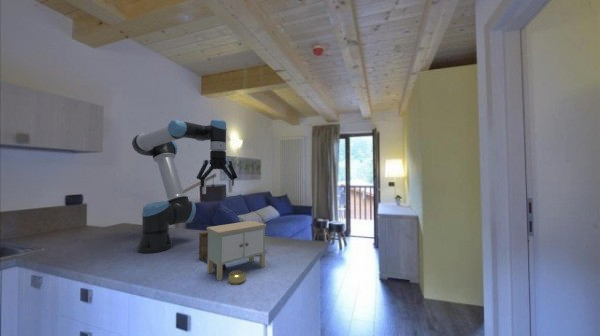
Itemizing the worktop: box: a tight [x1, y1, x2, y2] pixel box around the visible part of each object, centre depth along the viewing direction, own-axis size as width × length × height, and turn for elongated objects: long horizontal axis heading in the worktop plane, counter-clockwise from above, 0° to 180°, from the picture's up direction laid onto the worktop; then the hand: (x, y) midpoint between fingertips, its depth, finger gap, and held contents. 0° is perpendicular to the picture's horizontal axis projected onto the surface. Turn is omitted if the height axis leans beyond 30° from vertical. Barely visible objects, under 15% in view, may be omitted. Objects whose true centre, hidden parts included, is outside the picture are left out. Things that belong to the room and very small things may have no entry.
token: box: [227, 270, 247, 286], centre depth 87 cm, size 6×6×2 cm
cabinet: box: [206, 220, 267, 282], centre depth 98 cm, size 12×21×18 cm, turn 133°
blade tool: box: [198, 230, 227, 272], centre depth 103 cm, size 20×4×12 cm, turn 43°
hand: (217, 193), depth 122 cm, fingers open, 13 cm apart
